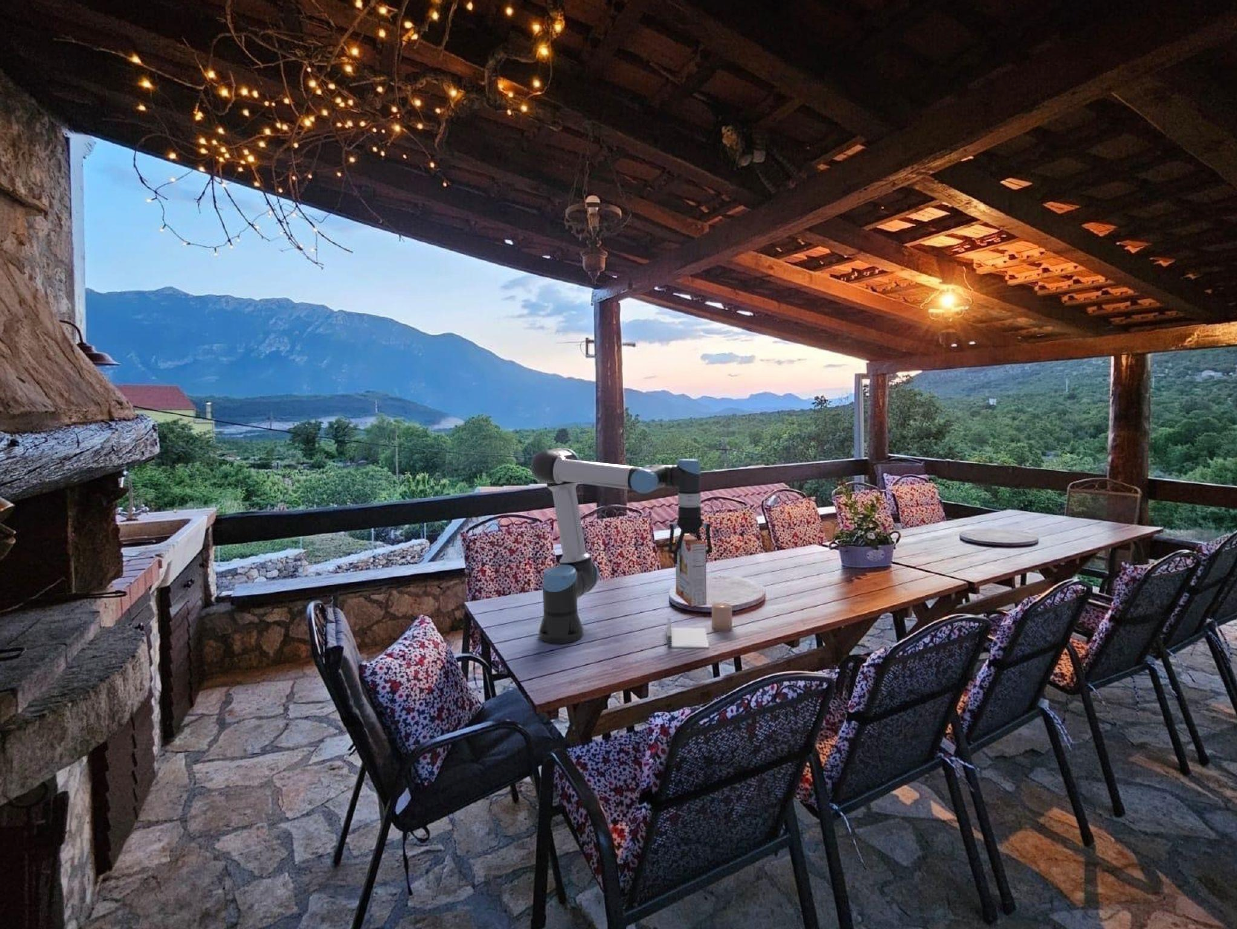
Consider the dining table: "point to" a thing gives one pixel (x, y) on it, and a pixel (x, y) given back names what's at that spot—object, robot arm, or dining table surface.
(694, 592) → the cracker box
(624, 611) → the dining table surface
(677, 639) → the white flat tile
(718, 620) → the peach domed knob
